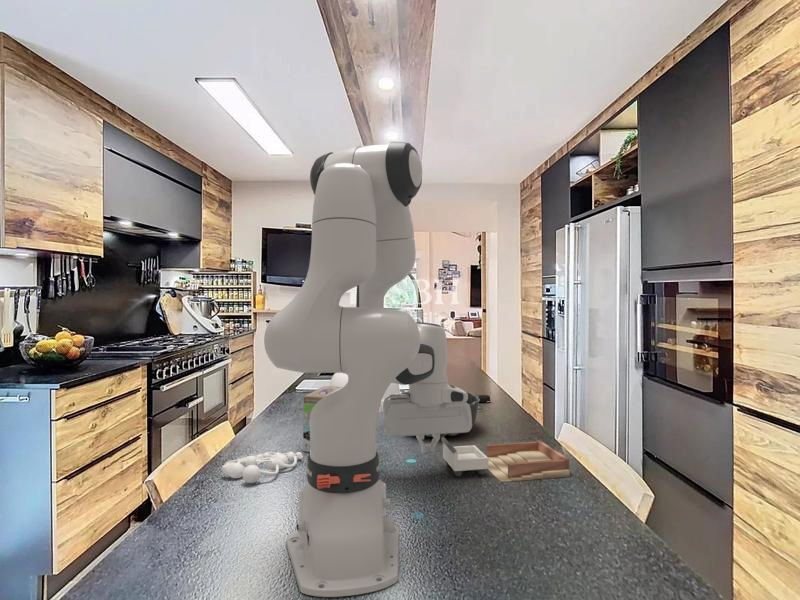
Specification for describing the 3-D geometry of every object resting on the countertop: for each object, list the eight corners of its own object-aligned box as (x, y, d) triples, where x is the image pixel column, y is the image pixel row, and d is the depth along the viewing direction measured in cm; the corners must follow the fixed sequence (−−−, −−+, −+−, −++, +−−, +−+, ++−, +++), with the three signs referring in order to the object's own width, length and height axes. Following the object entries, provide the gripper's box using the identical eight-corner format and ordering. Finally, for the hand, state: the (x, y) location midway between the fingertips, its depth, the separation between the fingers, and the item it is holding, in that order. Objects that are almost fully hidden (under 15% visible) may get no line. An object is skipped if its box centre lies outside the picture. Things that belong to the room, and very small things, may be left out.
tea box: (338, 455, 120) (338, 397, 119) (301, 452, 122) (301, 395, 121) (355, 437, 134) (355, 385, 134) (322, 435, 136) (322, 384, 136)
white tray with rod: (488, 475, 106) (488, 447, 105) (452, 478, 104) (452, 449, 104) (474, 461, 114) (474, 435, 114) (440, 464, 113) (441, 437, 113)
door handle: (498, 405, 163) (488, 393, 179) (441, 406, 162) (436, 393, 178) (498, 415, 164) (487, 401, 180) (441, 416, 163) (436, 402, 179)
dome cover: (314, 398, 185) (314, 362, 185) (384, 391, 198) (384, 358, 198) (338, 417, 156) (338, 375, 156) (418, 408, 169) (418, 369, 169)
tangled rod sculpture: (276, 456, 123) (275, 440, 123) (317, 462, 115) (316, 445, 115) (211, 479, 106) (210, 460, 106) (253, 488, 98) (253, 468, 99)
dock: (571, 476, 106) (571, 460, 106) (500, 482, 102) (500, 465, 102) (537, 452, 121) (537, 438, 121) (475, 457, 118) (475, 442, 118)
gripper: (385, 397, 102) (385, 460, 102) (474, 393, 106) (474, 454, 106) (381, 391, 108) (381, 451, 109) (465, 388, 112) (465, 445, 113)
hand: (428, 452), depth 108 cm, fingers closed
